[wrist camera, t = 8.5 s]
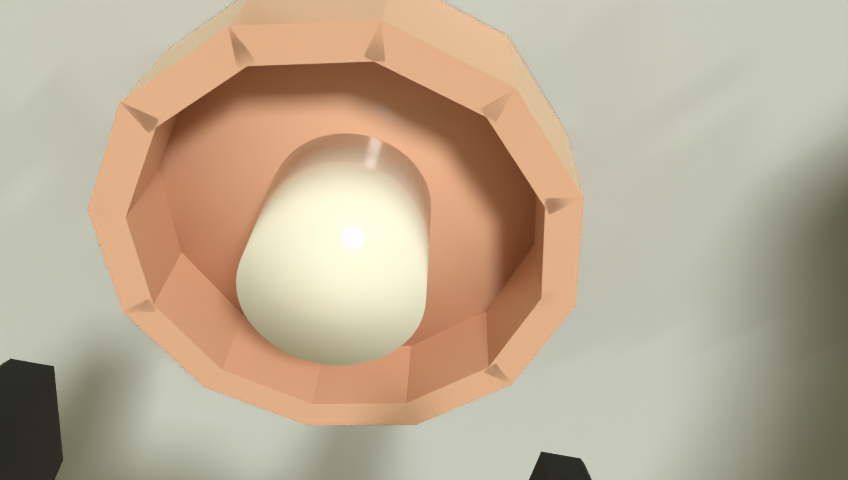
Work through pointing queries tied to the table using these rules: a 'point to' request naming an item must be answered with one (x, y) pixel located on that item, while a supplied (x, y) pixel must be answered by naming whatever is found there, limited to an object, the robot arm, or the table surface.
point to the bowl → (332, 114)
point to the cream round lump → (339, 252)
